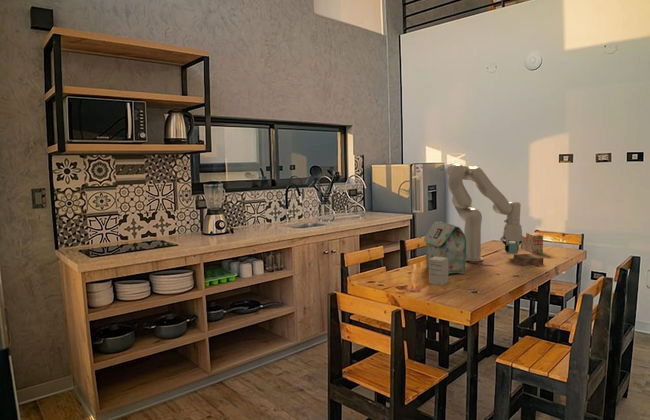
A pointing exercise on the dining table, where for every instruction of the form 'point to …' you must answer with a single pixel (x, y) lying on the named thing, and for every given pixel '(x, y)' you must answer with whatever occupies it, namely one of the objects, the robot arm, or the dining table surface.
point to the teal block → (512, 248)
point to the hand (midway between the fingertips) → (511, 251)
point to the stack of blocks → (533, 243)
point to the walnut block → (528, 259)
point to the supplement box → (438, 270)
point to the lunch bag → (447, 246)
